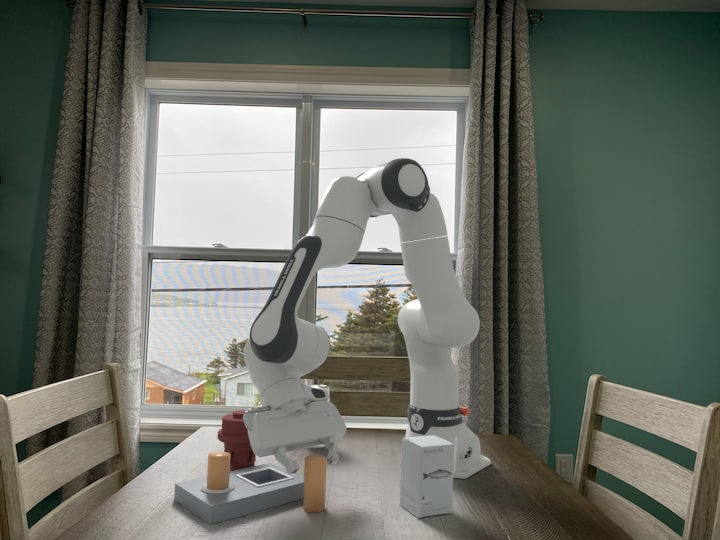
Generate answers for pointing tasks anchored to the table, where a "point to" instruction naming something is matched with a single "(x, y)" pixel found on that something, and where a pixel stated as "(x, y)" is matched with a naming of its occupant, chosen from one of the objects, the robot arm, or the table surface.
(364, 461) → the table surface
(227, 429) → the mechanical component
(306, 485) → the orange smooth rounded part
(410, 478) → the supplement box
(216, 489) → the grey peg board
